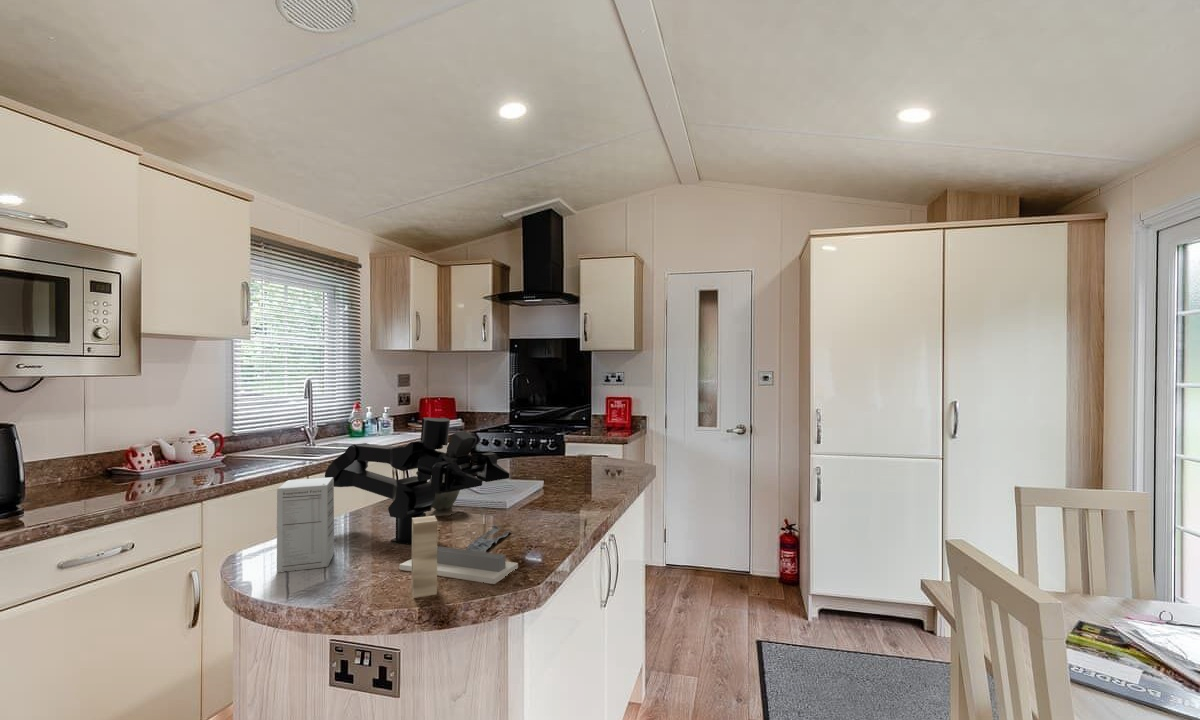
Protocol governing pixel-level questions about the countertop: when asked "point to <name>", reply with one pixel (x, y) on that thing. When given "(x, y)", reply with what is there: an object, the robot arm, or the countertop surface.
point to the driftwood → (485, 541)
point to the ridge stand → (469, 565)
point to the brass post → (424, 556)
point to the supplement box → (305, 524)
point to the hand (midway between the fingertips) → (495, 479)
